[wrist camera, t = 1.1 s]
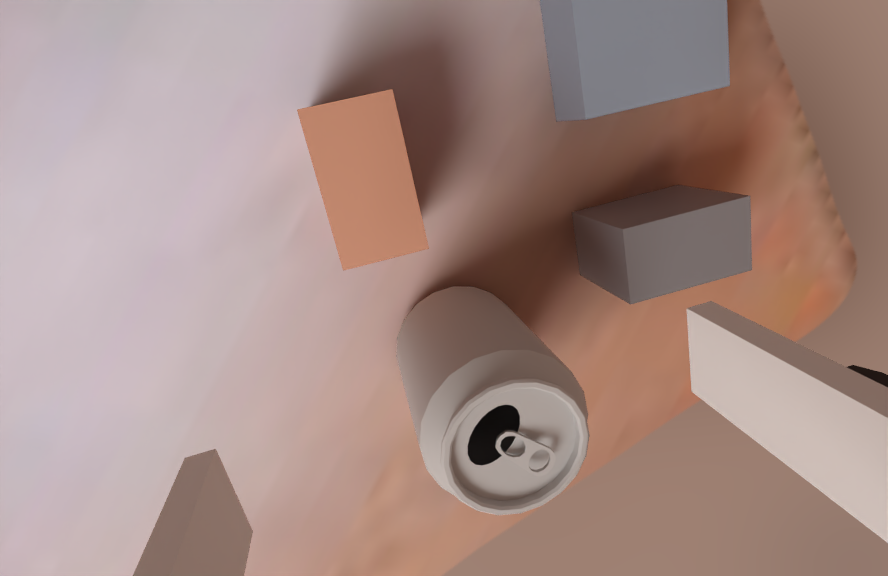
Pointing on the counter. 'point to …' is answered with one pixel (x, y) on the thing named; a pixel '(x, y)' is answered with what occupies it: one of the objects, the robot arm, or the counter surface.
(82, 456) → the counter surface
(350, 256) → the terracotta brick
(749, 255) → the charcoal brick
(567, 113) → the slate blue brick
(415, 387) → the can
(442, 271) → the counter surface
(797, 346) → the robot arm
